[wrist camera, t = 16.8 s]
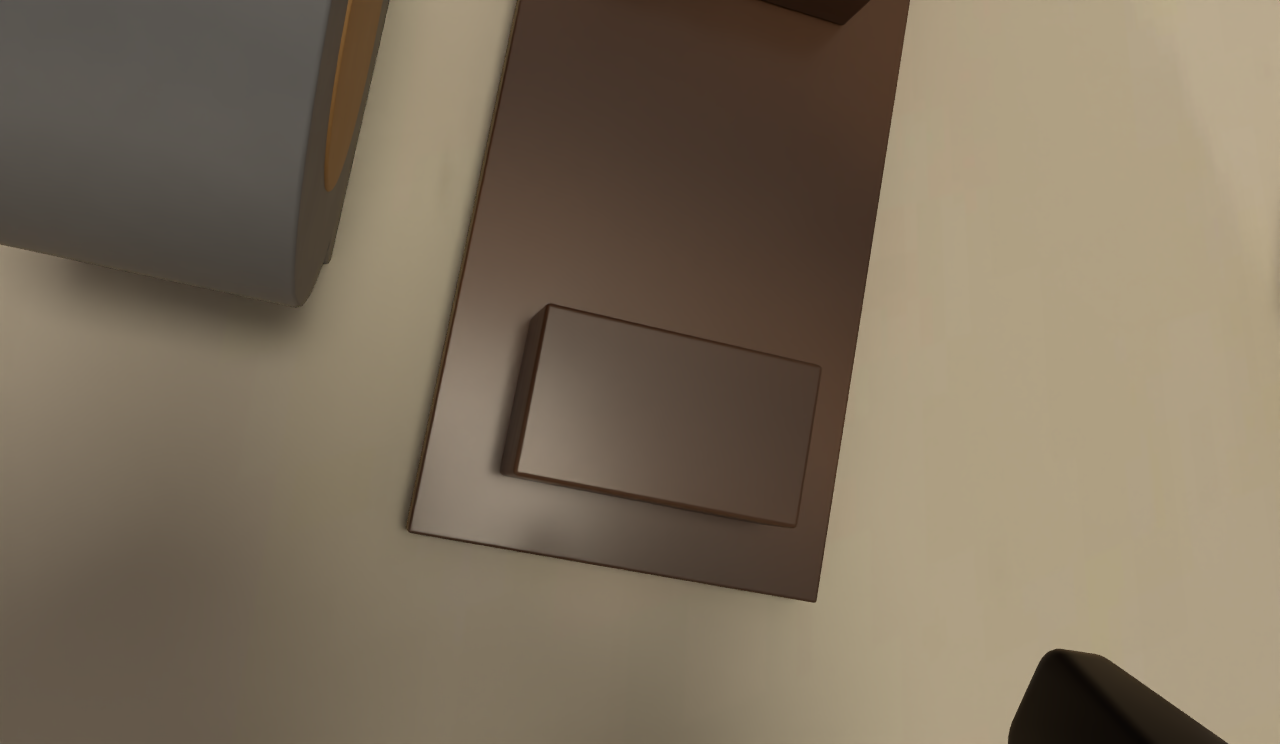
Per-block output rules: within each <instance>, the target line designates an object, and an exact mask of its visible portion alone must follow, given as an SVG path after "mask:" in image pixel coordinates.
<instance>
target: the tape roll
mask: <svg viewBox="0 0 1280 744" xmlns="http://www.w3.org/2000/svg"><path fill="white" fill-rule="evenodd" d="M388 4H389V0H0V244H1V245H6V246H10V247H15V248H20V249H24V250H29V251H34V252H38V253H43V254H48V255H52V256H57V257H62V258H66V259H71V260H76V261H80V262H85V263H90V264H94V265H99V266H104V267H108V268H113V269H118V270H122V271H127V272H132V273H136V274H141V275H146V276H150V277H155V278H160V279H164V280H169V281H174V282H178V283H183V284H187V285H192V286H197V287H201V288H206V289H211V290H215V291H220V292H225V293H229V294H234V295H239V296H243V297H248V298H253V299H257V300H262V301H267V302H271V303H276V304H281V305H285V306H290V307H295V308H297V307H300V306H303V304H304V303H305V302H306V300H307V299H308V297H309V296H310V294H311V292H312V290H313V288H314V285H315V283H316V280H317V278H318V275H319V273H320V270H321V267H322V264H326V263H329V261H330V260H331V255H332V251H333V246H334V242H335V238H336V233H337V229H338V224H339V220H340V216H341V211H342V207H343V202H344V198H345V194H346V189H347V185H348V180H349V176H350V172H351V167H352V163H353V158H354V154H355V150H356V145H357V141H358V136H359V132H360V128H361V123H362V119H363V114H364V110H365V106H366V101H367V97H368V92H369V88H370V84H371V79H372V75H373V70H374V66H375V62H376V57H377V53H378V48H379V44H380V40H381V35H382V31H383V26H384V22H385V18H386V13H387V9H388Z"/></svg>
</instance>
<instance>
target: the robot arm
mask: <svg viewBox="0 0 1280 744" xmlns="http://www.w3.org/2000/svg"><path fill="white" fill-rule="evenodd" d="M1008 744H1228V743H1227V742H1225V741H1224V740H1222V739H1221V738H1220V737H1218V736H1217V735H1215V734H1214V733H1212V732H1211V731H1210V730H1208V729H1207V728H1205V727H1204V726H1202V725H1201V724H1200V723H1198V722H1197V721H1195V720H1194V719H1192V718H1191V717H1190V716H1188V715H1187V714H1185V713H1184V712H1183V711H1181V710H1180V709H1178V708H1177V707H1175V706H1174V705H1173V704H1171V703H1170V702H1168V701H1167V700H1165V699H1164V698H1163V697H1161V696H1160V695H1158V694H1157V693H1155V692H1154V691H1153V690H1151V689H1150V688H1148V687H1147V686H1145V685H1144V684H1143V683H1141V682H1140V681H1138V680H1137V679H1135V678H1134V677H1133V676H1131V675H1130V674H1128V673H1127V672H1125V671H1124V670H1123V669H1121V668H1120V667H1118V666H1117V665H1115V664H1114V663H1113V662H1111V661H1110V660H1108V659H1107V658H1105V657H1103V656H1100V655H1097V654H1092V653H1085V652H1078V651H1072V650H1065V649H1054V650H1052V651H1049V652H1048V653H1046V654H1045V655H1044V656H1043V657H1042V659H1041V661H1040V662H1039V664H1038V666H1037V668H1036V671H1035V673H1034V675H1033V677H1032V679H1031V681H1030V684H1029V686H1028V688H1027V690H1026V692H1025V695H1024V697H1023V699H1022V701H1021V703H1020V706H1019V708H1018V710H1017V712H1016V714H1015V717H1014V719H1013V721H1012V724H1011V727H1010V731H1009V736H1008Z"/></svg>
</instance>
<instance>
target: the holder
mask: <svg viewBox="0 0 1280 744" xmlns="http://www.w3.org/2000/svg"><path fill="white" fill-rule="evenodd" d="M909 3H910V0H517V3H516V8H515V13H514V17H513V22H512V27H511V31H510V36H509V41H508V46H507V50H506V55H505V60H504V65H503V69H502V74H501V79H500V83H499V88H498V93H497V98H496V102H495V107H494V112H493V116H492V121H491V126H490V131H489V135H488V140H487V145H486V150H485V154H484V159H483V164H482V168H481V173H480V178H479V183H478V187H477V192H476V197H475V202H474V206H473V211H472V216H471V220H470V225H469V230H468V235H467V239H466V244H465V249H464V254H463V258H462V263H461V268H460V272H459V277H458V282H457V287H456V291H455V296H454V301H453V305H452V310H451V315H450V320H449V324H448V329H447V334H446V339H445V343H444V348H443V353H442V357H441V362H440V367H439V372H438V376H437V381H436V386H435V391H434V395H433V400H432V405H431V409H430V414H429V419H428V424H427V428H426V433H425V438H424V442H423V447H422V452H421V457H420V461H419V466H418V471H417V476H416V480H415V485H414V490H413V494H412V499H411V504H410V509H409V513H408V518H407V523H406V529H407V531H408V532H410V533H414V534H420V535H426V536H432V537H438V538H443V539H449V540H455V541H461V542H466V543H472V544H478V545H484V546H490V547H495V548H501V549H507V550H513V551H518V552H524V553H530V554H536V555H541V556H547V557H553V558H559V559H565V560H570V561H576V562H582V563H588V564H593V565H599V566H605V567H611V568H617V569H622V570H628V571H634V572H640V573H645V574H651V575H657V576H663V577H669V578H674V579H680V580H686V581H692V582H697V583H703V584H709V585H715V586H720V587H726V588H732V589H738V590H744V591H749V592H755V593H761V594H767V595H772V596H778V597H784V598H790V599H796V600H801V601H807V602H813V603H814V602H816V600H817V593H818V587H819V581H820V574H821V568H822V561H823V555H824V549H825V542H826V536H827V529H828V523H829V516H830V510H831V504H832V497H833V491H834V484H835V478H836V472H837V465H838V459H839V452H840V446H841V440H842V433H843V427H844V420H845V414H846V407H847V401H848V395H849V388H850V382H851V375H852V369H853V363H854V356H855V350H856V343H857V337H858V330H859V324H860V318H861V311H862V305H863V298H864V292H865V286H866V279H867V273H868V266H869V260H870V253H871V247H872V241H873V234H874V228H875V221H876V215H877V209H878V202H879V196H880V189H881V183H882V176H883V170H884V164H885V157H886V151H887V144H888V138H889V132H890V125H891V119H892V112H893V106H894V100H895V93H896V87H897V80H898V74H899V67H900V61H901V55H902V48H903V42H904V35H905V29H906V23H907V16H908V10H909Z"/></svg>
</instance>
